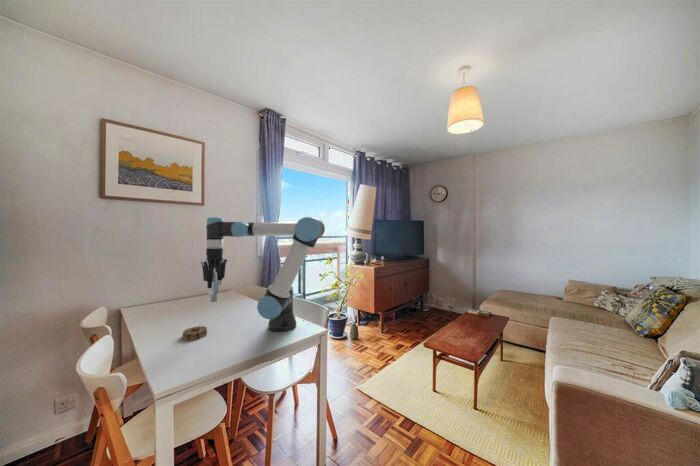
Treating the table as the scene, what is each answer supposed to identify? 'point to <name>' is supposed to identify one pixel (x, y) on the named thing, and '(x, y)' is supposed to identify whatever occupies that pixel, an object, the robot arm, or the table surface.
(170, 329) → the table surface
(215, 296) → the dowel
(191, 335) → the wooden gear
